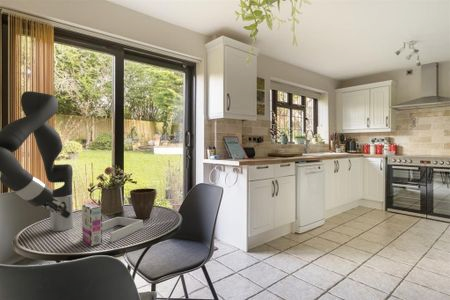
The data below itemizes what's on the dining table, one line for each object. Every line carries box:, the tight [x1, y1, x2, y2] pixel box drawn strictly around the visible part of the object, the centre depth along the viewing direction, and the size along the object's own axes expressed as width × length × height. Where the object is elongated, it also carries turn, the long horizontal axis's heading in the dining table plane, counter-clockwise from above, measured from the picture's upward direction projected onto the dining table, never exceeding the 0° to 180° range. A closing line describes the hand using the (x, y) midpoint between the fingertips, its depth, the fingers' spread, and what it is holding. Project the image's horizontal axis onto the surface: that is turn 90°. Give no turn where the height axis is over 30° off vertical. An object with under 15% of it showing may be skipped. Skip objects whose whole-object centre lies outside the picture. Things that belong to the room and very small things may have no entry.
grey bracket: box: [102, 216, 144, 243], centre depth 120 cm, size 17×20×4 cm
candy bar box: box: [81, 202, 103, 247], centre depth 108 cm, size 11×5×16 cm, turn 47°
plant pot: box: [129, 187, 157, 220], centre depth 145 cm, size 15×15×16 cm
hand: (67, 215), depth 98 cm, fingers closed
